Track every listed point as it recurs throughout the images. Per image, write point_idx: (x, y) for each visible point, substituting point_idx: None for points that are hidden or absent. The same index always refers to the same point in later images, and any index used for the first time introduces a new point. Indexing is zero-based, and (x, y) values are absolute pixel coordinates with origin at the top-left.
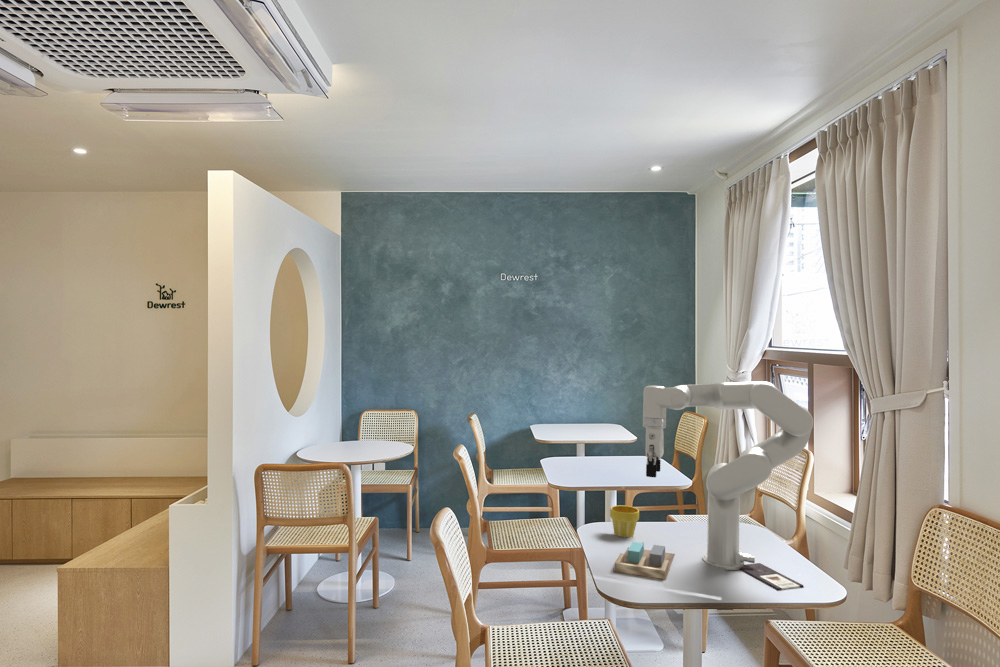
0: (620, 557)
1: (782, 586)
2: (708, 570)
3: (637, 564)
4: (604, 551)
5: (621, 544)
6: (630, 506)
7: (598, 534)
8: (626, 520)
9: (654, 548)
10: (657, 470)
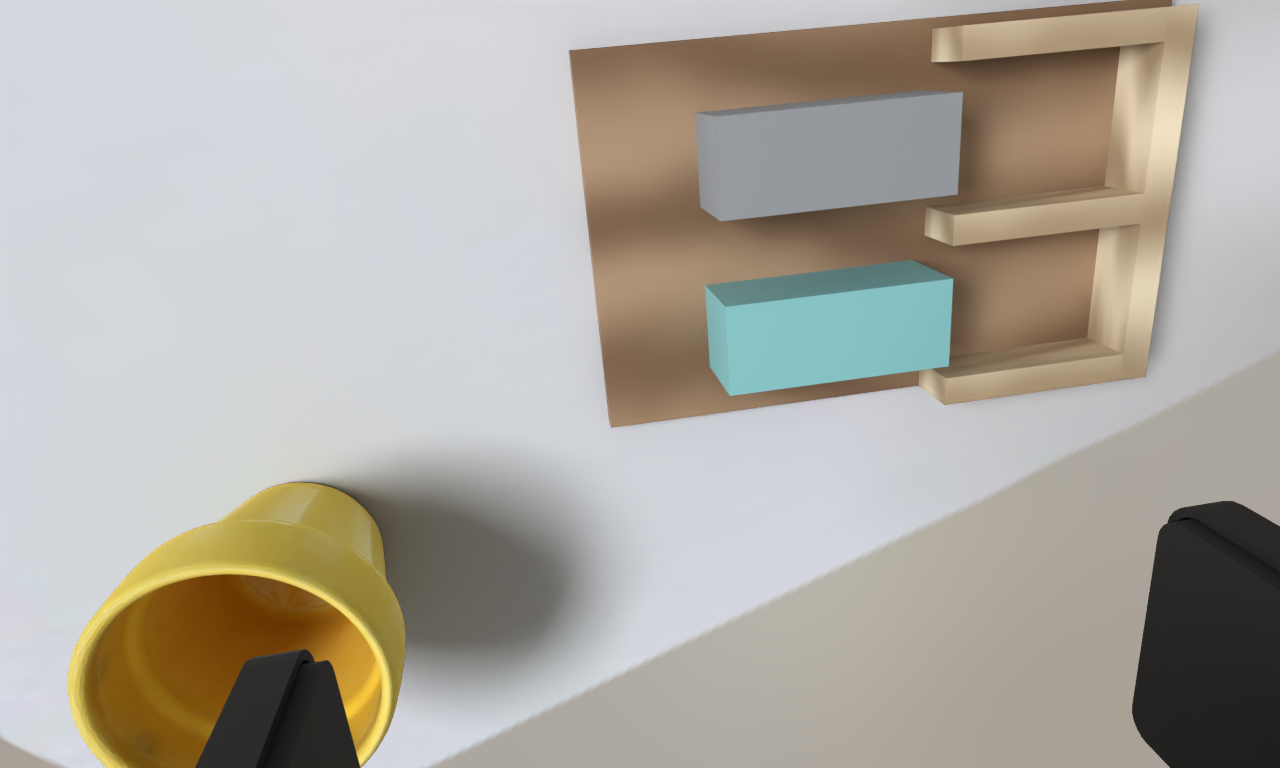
0: (1028, 377)
1: None
2: None
3: (939, 263)
4: (729, 539)
5: (520, 497)
6: (75, 691)
7: None
8: (386, 590)
9: (816, 190)
10: (334, 723)
